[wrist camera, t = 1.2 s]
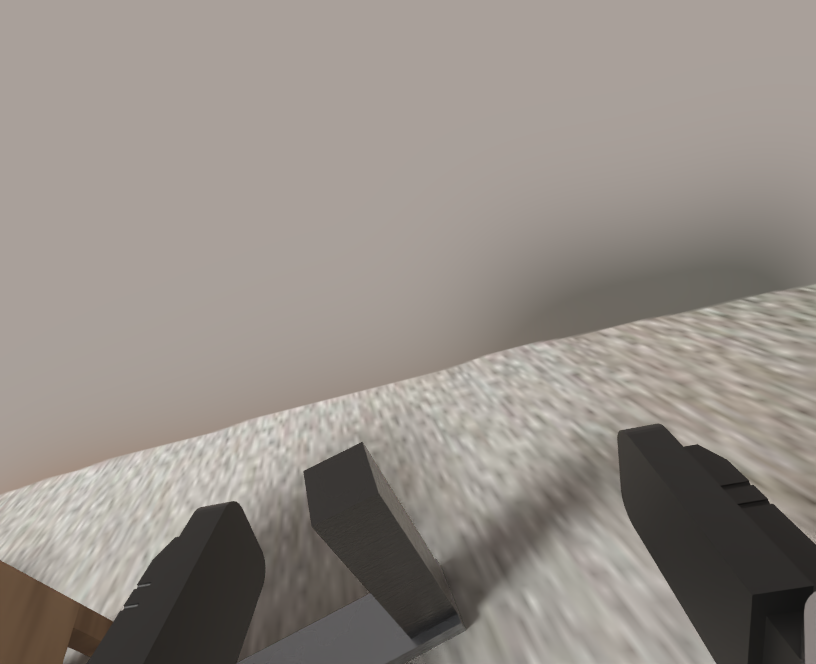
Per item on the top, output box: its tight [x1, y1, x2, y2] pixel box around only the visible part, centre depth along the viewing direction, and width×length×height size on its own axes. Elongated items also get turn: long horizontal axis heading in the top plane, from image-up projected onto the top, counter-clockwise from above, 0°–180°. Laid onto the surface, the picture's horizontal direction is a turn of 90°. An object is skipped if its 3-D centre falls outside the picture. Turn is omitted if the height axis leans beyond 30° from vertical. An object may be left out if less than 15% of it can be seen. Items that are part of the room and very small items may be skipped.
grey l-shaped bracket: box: [236, 442, 466, 664], centre depth 23 cm, size 21×4×14 cm, turn 109°
